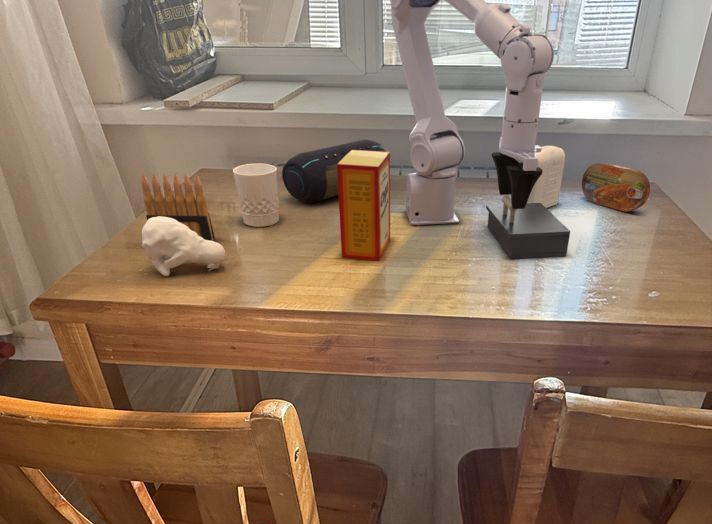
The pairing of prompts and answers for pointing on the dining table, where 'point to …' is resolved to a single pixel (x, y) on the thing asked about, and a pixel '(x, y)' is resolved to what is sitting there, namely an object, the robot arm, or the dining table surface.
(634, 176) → the tin
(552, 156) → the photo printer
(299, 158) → the portable speaker
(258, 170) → the white cup
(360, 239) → the baking soda box
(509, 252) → the flip case
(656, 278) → the dining table surface
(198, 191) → the ammunition clip
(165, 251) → the white figurine
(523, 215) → the cover
